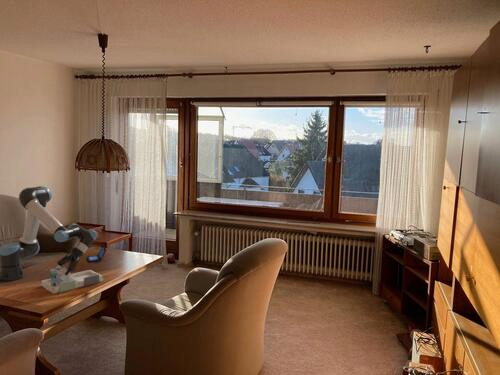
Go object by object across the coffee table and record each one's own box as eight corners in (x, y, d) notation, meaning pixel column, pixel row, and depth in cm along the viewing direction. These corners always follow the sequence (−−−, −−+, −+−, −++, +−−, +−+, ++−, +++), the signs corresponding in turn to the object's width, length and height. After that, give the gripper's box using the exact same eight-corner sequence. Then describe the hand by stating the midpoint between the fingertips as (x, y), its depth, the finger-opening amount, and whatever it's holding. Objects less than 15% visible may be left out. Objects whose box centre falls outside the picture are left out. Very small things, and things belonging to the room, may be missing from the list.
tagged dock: (53, 294, 243) (53, 285, 242) (41, 285, 256) (41, 277, 255) (104, 281, 267) (103, 273, 266) (90, 274, 280) (90, 267, 280)
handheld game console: (86, 258, 321) (86, 247, 321) (104, 256, 328) (103, 245, 327) (88, 263, 308) (88, 251, 307) (106, 261, 314) (106, 249, 313)
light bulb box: (49, 285, 254) (49, 269, 253) (57, 282, 260) (56, 266, 259) (63, 287, 251) (63, 271, 250) (71, 284, 258) (70, 268, 256)
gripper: (91, 256, 257) (69, 284, 247) (75, 249, 274) (53, 275, 264) (83, 250, 252) (60, 278, 243) (67, 243, 269) (45, 269, 260)
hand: (56, 276), depth 254 cm, fingers open, 13 cm apart
